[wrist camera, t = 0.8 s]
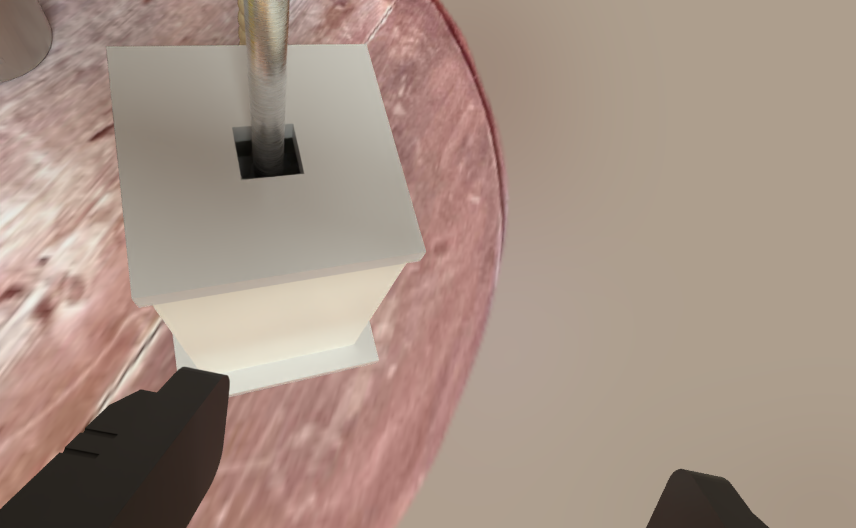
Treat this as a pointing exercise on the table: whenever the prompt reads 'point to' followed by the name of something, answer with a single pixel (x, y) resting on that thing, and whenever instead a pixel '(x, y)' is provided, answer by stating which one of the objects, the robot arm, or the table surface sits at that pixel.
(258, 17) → the plunger
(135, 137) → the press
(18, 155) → the table surface
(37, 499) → the robot arm
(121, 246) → the table surface
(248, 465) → the table surface
